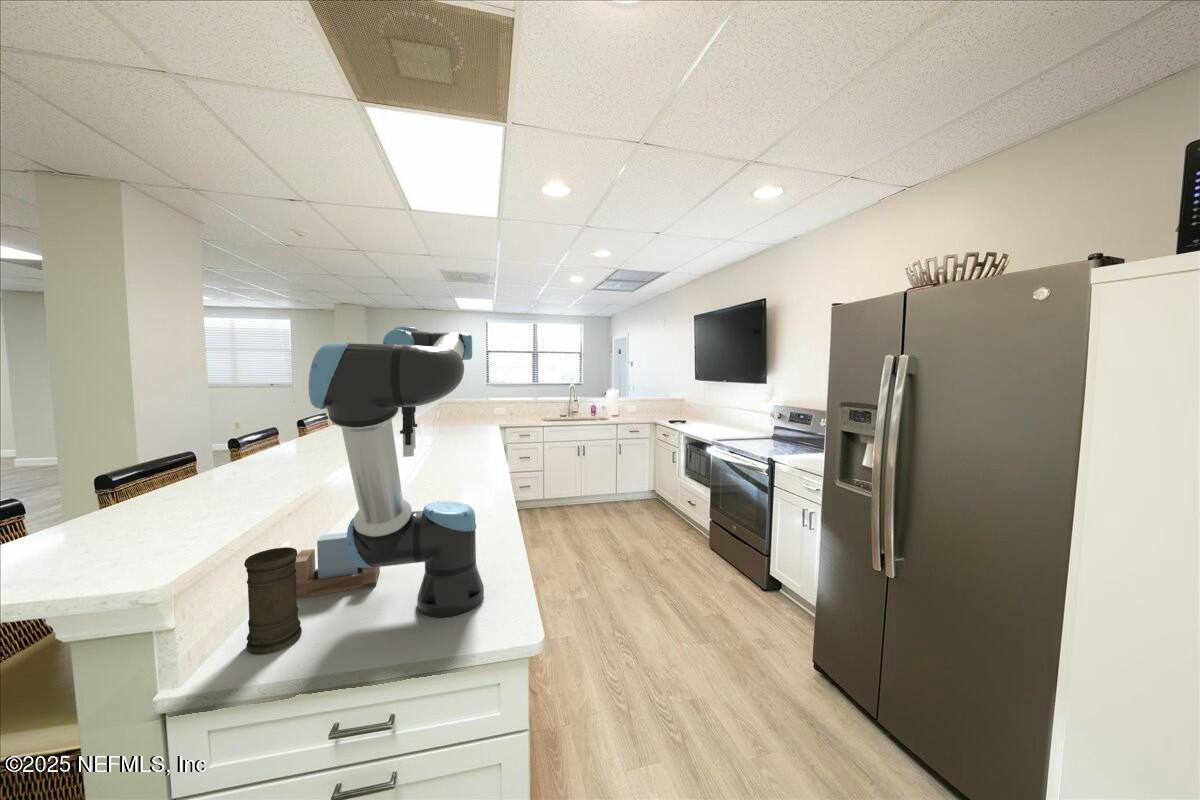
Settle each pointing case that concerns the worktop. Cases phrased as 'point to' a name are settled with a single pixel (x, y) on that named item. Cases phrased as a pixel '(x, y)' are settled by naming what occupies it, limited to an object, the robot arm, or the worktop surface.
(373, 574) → the frame
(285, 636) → the container
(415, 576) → the worktop surface
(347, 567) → the door
